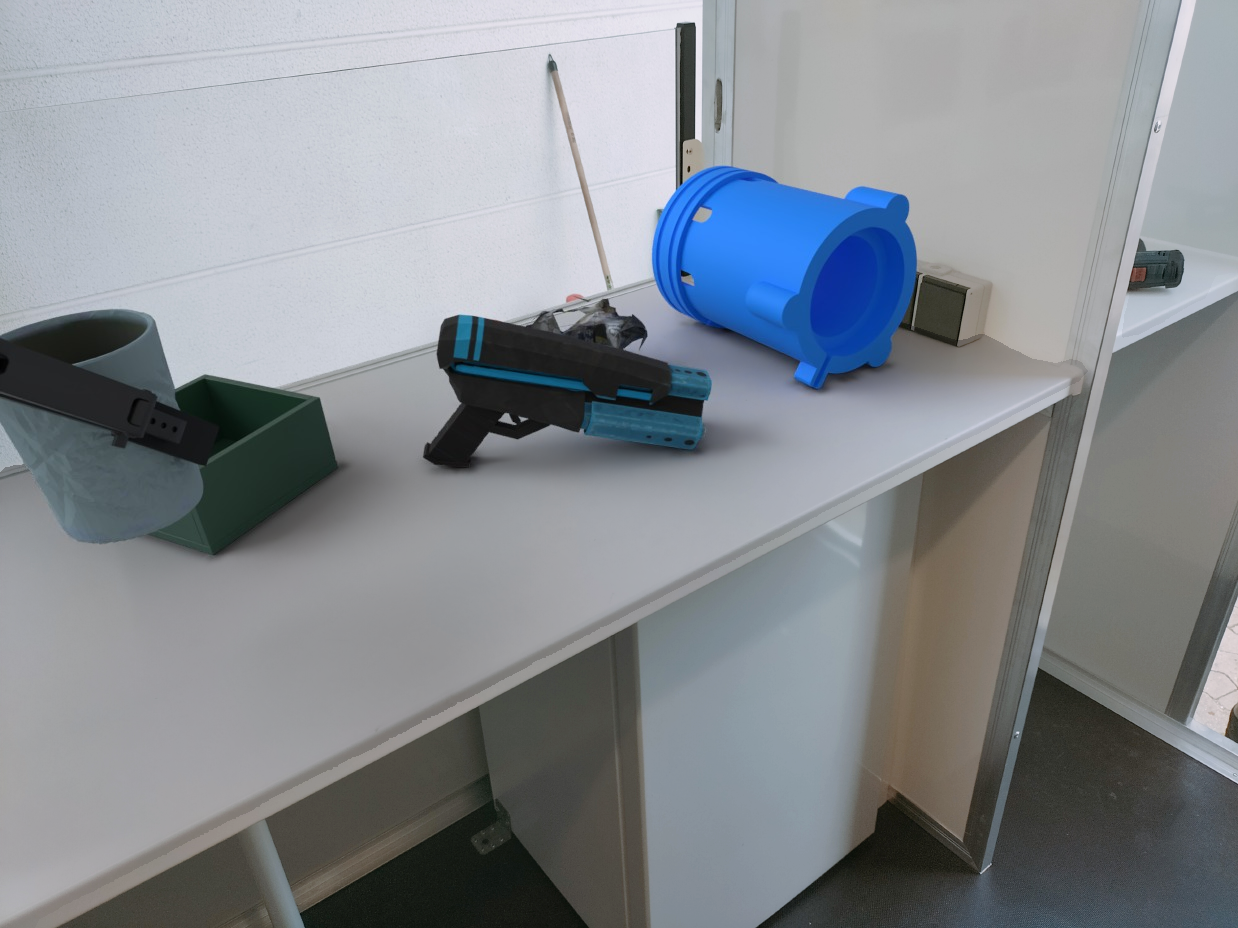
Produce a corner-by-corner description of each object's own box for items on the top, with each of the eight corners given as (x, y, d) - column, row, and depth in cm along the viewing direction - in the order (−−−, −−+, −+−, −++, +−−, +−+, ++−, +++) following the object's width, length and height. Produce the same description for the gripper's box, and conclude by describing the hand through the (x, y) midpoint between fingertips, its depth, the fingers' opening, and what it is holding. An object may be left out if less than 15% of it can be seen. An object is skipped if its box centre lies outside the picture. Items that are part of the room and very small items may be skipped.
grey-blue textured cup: (196, 536, 53) (129, 360, 47) (20, 564, 51) (-74, 385, 45) (225, 457, 62) (171, 299, 55) (74, 479, 60) (2, 318, 54)
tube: (728, 343, 118) (624, 302, 106) (795, 190, 114) (695, 129, 101) (864, 406, 100) (757, 366, 87) (951, 228, 95) (851, 158, 83)
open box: (95, 517, 79) (62, 444, 75) (226, 440, 91) (204, 373, 87) (213, 555, 73) (184, 478, 69) (338, 467, 85) (320, 397, 81)
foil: (532, 319, 108) (615, 267, 98) (575, 394, 109) (660, 350, 99) (473, 349, 99) (557, 295, 89) (520, 429, 101) (608, 385, 91)
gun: (685, 510, 86) (727, 377, 79) (419, 478, 80) (438, 330, 73) (672, 470, 93) (709, 343, 85) (425, 437, 87) (443, 299, 80)
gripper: (-441, 334, 40) (17, 459, 60) (-156, 400, 32) (261, 518, 52) (-368, 191, 41) (55, 360, 62) (-76, 219, 33) (299, 403, 54)
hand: (150, 433), depth 57 cm, fingers closed on grey-blue textured cup, 10 cm apart
